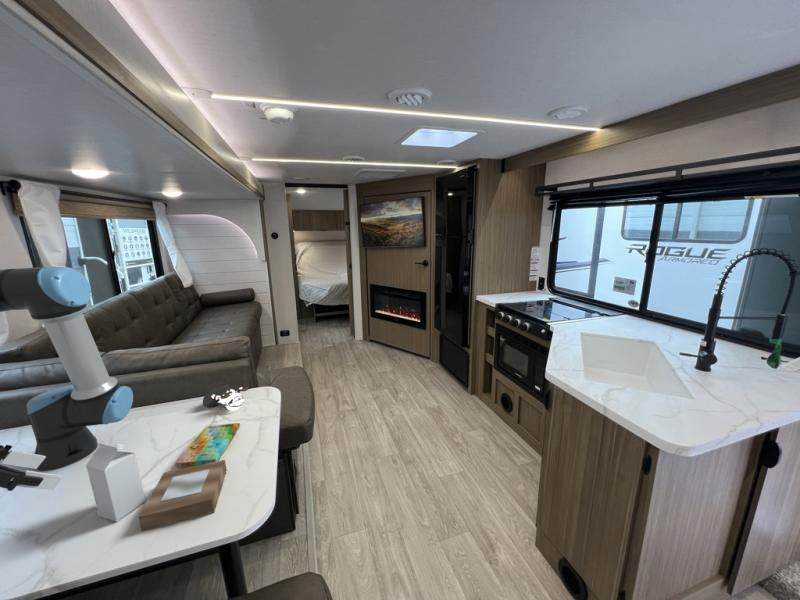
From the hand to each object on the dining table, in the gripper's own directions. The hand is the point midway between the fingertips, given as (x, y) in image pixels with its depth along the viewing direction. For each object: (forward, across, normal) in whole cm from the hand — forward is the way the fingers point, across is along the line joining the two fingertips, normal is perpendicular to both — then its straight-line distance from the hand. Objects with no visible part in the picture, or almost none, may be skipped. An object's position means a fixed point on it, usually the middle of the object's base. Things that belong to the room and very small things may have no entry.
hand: (49, 472), depth 74 cm
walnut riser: (+28, +12, +2) cm, 31 cm away
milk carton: (+21, 0, -6) cm, 22 cm away
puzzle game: (+39, -3, +12) cm, 41 cm away
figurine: (+53, -27, +26) cm, 64 cm away
